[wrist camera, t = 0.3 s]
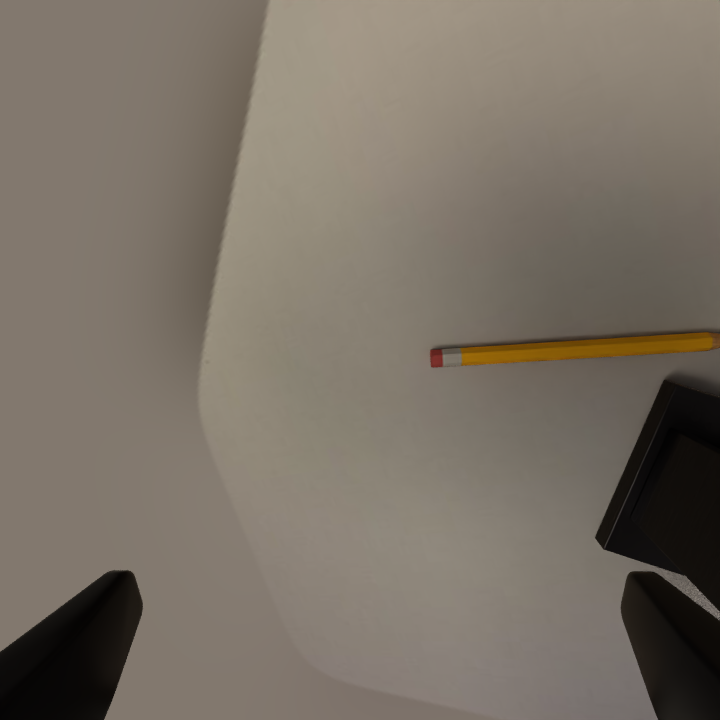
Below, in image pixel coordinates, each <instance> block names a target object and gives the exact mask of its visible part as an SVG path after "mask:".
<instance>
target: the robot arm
mask: <svg viewBox="0 0 720 720" xmlns="http://www.w3.org/2000/svg"><path fill="white" fill-rule="evenodd" d="M142 609H143V603H142V599H141V595H140V592H139V588H138V585H137V582H136V579H135V576H134V574H133V573H132V572H131V571H128V570H124V571H123V570H122V571H121V570H120V571H119V570H113V571H109V572H107V573H105V574H104V575H103V576H101V577H100V578H99V579H97V580H96V581H95V582H93V583H92V584H90V585H89V586H88V587H87V588H85V589H84V590H82V591H81V592H80V593H78V594H77V595H76V596H75V597H73V598H72V599H70V600H69V601H68V602H66V603H65V604H64V605H63V606H61V607H60V608H58V609H57V610H56V611H55V612H53V613H52V614H50V615H49V616H48V617H46V618H45V619H44V620H42V621H41V622H40V623H38V624H37V625H36V626H34V627H33V628H32V629H30V630H29V631H28V632H26V633H25V634H24V635H22V636H21V637H20V638H18V639H17V640H16V641H14V642H13V643H12V644H10V645H9V646H8V647H6V648H5V649H4V650H2V651H1V652H0V720H104V719H105V716H106V714H107V711H108V709H109V707H110V704H111V702H112V699H113V696H114V694H115V691H116V688H117V685H118V682H119V679H120V677H121V674H122V671H123V668H124V665H125V662H126V659H127V656H128V653H129V650H130V647H131V645H132V642H133V639H134V636H135V633H136V630H137V627H138V624H139V621H140V618H141V615H142ZM621 614H622V619H623V622H624V625H625V628H626V631H627V633H628V636H629V639H630V642H631V645H632V648H633V651H634V654H635V657H636V659H637V662H638V665H639V668H640V671H641V674H642V677H643V680H644V683H645V685H646V688H647V691H648V694H649V697H650V700H651V702H652V705H653V708H654V711H655V713H656V716H657V718H658V720H720V621H719V620H718V619H717V618H715V617H714V616H713V615H711V614H710V613H709V612H707V611H706V610H705V609H703V608H702V607H701V606H700V605H698V604H697V603H696V602H694V601H693V600H692V599H690V598H689V597H688V596H686V595H685V594H684V593H682V592H681V591H680V590H678V589H677V588H676V587H674V586H673V585H672V584H671V583H669V582H668V581H667V580H665V579H664V578H663V577H661V576H660V575H658V574H657V573H655V572H650V571H633V572H630V573H629V574H628V576H627V579H626V583H625V588H624V593H623V597H622V602H621Z"/></svg>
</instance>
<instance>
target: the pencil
mask: <svg viewBox="0 0 720 720" xmlns="http://www.w3.org/2000/svg"><path fill="white" fill-rule="evenodd" d="M716 348H720V334H717V333H710V332H703V333H688V334H672V335H656V336H640V337H625V338H609V339H593V340H578V341H562V342H546V343H531V344H515V345H499V346H484V347H468V348H452V349H437V350H431V351H430V360H431V367H447V366H464V365H480V364H497V363H514V362H530V361H547V360H563V359H580V358H596V357H613V356H629V355H646V354H663V353H679V352H696V351H708V350H712V349H716Z"/></svg>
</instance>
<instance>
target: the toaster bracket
mask: <svg viewBox="0 0 720 720" xmlns="http://www.w3.org/2000/svg"><path fill="white" fill-rule="evenodd" d="M595 539H596V540H597V541H598V543H599V544H600V545H601V547H602V548H603V549H604V550H607V551H610V552H613V553H616V554H619V555H623V556H626V557H629V558H632V559H635V560H638V561H641V562H644V563H647V564H650V565H653V566H656V567H659V568H663V569H666V570H669V571H672V572H675V573H678V574H681V575H684V576H686V577H687V578H688V579H689V580H690V581H691V582H692V583H693V584H694V585H695V586H696V587H697V588H698V589H699V590H700V591H701V592H702V594H703V595H704V596H705V597H706V598H707V599H708V600H709V601H710V602H711V603H712V604H713V605H714V606H715V607H716V608H717V609H718V610H719V611H720V397H718V396H715V395H712V394H709V393H706V392H702V391H699V390H696V389H693V388H690V387H686V386H683V385H680V384H677V383H674V382H670V381H667V380H664V381H663V384H662V386H661V388H660V391H659V393H658V395H657V397H656V400H655V402H654V404H653V407H652V409H651V411H650V413H649V416H648V418H647V420H646V423H645V425H644V427H643V429H642V432H641V434H640V436H639V439H638V441H637V443H636V445H635V448H634V450H633V452H632V455H631V457H630V459H629V461H628V464H627V466H626V468H625V471H624V473H623V475H622V477H621V480H620V482H619V484H618V487H617V489H616V491H615V493H614V496H613V498H612V500H611V503H610V505H609V507H608V509H607V512H606V514H605V516H604V519H603V521H602V523H601V525H600V528H599V530H598V532H597V535H596V537H595Z"/></svg>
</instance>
